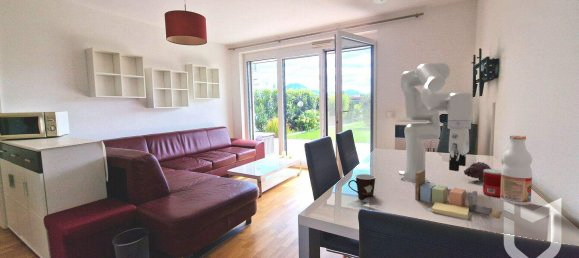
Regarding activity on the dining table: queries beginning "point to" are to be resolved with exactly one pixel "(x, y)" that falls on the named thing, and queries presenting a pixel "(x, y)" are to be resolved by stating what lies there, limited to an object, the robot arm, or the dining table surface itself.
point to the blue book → (426, 192)
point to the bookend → (474, 207)
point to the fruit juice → (516, 173)
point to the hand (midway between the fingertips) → (457, 168)
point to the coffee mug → (364, 185)
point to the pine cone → (476, 170)
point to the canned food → (492, 182)
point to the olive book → (439, 194)
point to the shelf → (421, 180)
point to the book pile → (451, 210)
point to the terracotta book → (457, 197)
